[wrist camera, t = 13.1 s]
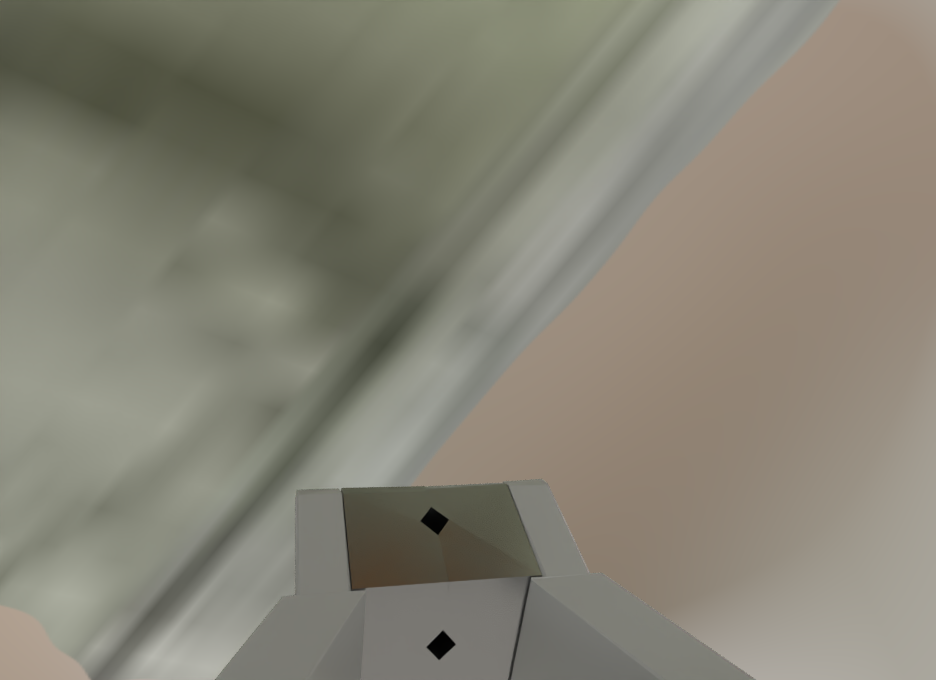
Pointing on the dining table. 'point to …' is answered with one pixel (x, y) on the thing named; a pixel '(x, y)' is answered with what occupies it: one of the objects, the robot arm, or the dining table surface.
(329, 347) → the dining table surface
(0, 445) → the dining table surface
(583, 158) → the dining table surface
